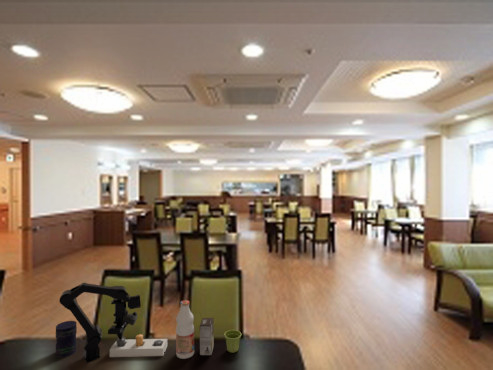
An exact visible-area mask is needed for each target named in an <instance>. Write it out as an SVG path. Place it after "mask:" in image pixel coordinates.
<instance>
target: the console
mask: <svg viewBox="0 0 493 370" xmlns="http://www.w3.org/2000/svg"><path fill="white" fill-rule="evenodd" d="M157 340H161V341H162V346H154V342H155V341H157ZM124 344H125V345H124V346H123V347H117V342H116V341H115V342H114V343H113V344H112V345H111V347H110V348H109V358H122V357H123V358H128V357H129V358H131V357H134V358H135V357H137V358H138V357H164V355H165V353H166V350H167V348H168V338H143V345H142V346H136V338H135V339H133V338H132V339H131V338H130V339H125V342H124ZM164 352H165V353H164Z"/></svg>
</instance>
